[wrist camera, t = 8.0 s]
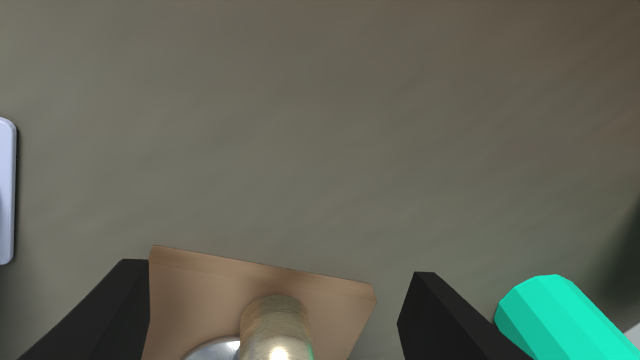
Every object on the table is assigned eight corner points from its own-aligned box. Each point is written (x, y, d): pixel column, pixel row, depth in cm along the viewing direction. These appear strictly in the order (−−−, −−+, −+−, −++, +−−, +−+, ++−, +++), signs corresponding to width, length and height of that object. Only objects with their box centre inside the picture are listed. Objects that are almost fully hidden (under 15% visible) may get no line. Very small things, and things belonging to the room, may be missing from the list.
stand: (122, 398, 27) (114, 423, 26) (153, 244, 22) (145, 265, 21) (306, 413, 31) (308, 436, 29) (371, 284, 26) (378, 304, 24)
